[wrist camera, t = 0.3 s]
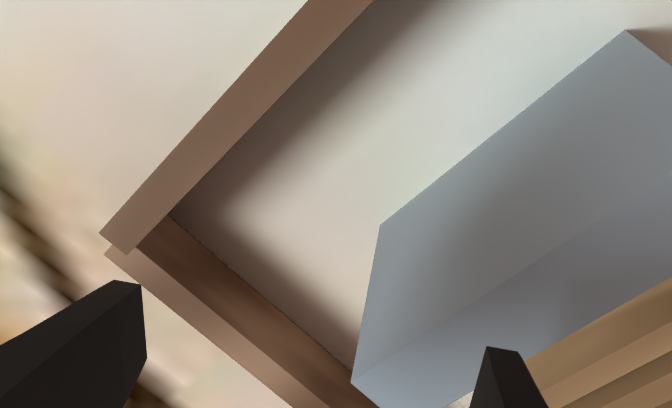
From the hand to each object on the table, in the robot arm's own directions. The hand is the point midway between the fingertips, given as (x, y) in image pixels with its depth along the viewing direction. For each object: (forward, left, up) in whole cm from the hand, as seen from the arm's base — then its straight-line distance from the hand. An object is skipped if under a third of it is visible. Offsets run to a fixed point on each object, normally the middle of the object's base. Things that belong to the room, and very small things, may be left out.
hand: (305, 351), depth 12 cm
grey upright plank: (-3, -4, -10) cm, 11 cm away
